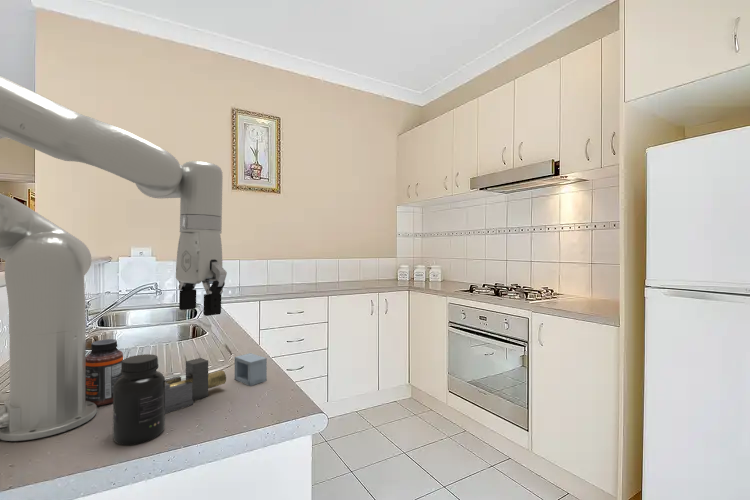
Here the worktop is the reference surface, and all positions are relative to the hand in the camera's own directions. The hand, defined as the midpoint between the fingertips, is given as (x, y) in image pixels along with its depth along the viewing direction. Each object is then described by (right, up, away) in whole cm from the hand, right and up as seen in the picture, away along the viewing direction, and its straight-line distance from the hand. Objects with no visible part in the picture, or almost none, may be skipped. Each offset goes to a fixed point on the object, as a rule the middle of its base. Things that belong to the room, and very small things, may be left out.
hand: (199, 311), depth 74 cm
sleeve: (-4, -17, -6) cm, 18 cm away
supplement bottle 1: (-17, -17, -3) cm, 24 cm away
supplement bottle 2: (-2, -17, -16) cm, 23 cm away
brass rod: (-2, -17, -3) cm, 17 cm away
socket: (+7, -17, +8) cm, 20 cm away
